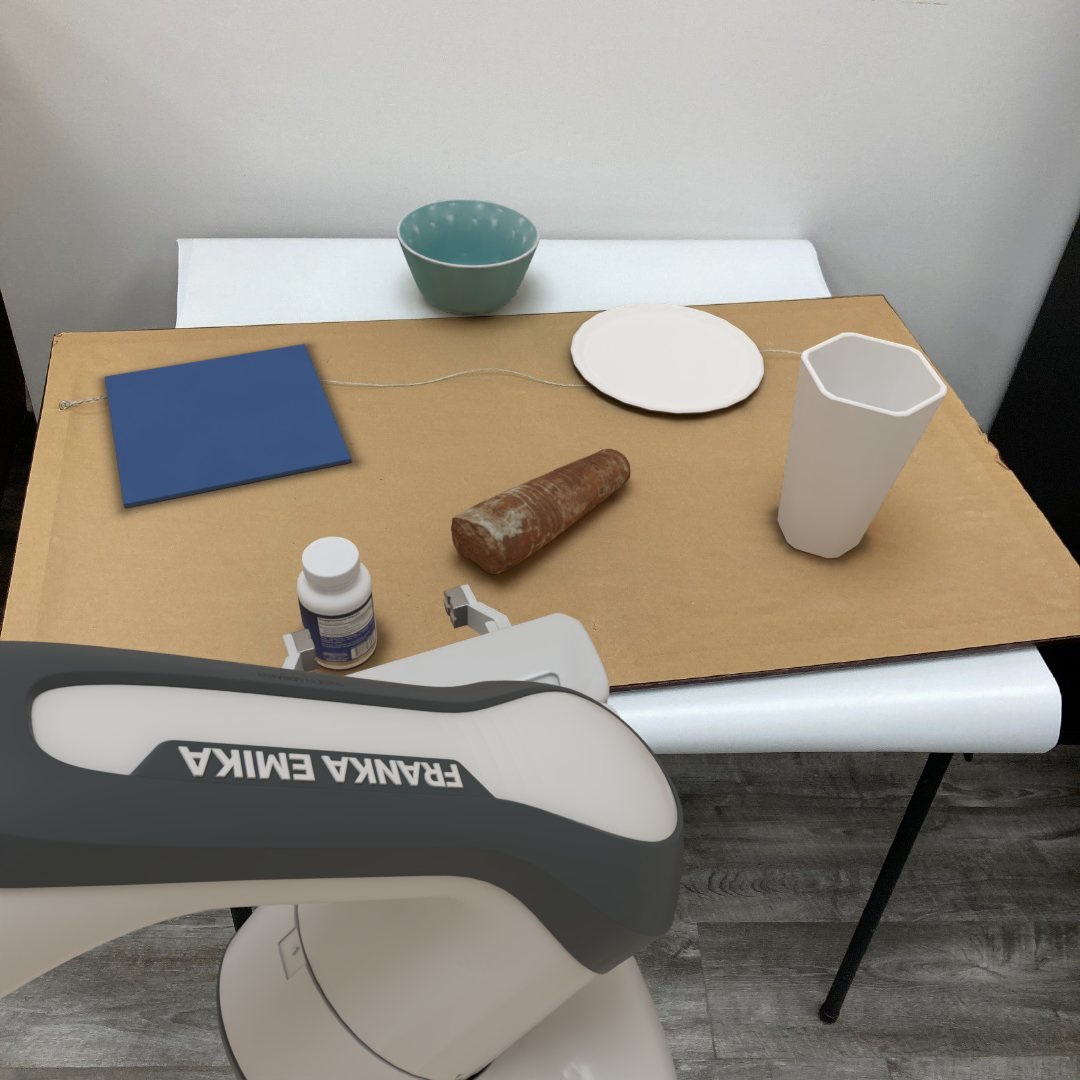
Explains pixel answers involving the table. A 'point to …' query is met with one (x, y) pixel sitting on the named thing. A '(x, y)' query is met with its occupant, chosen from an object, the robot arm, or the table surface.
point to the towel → (220, 424)
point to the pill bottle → (337, 603)
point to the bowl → (467, 253)
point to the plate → (667, 358)
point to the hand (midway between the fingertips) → (377, 615)
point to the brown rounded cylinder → (536, 510)
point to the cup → (851, 437)
